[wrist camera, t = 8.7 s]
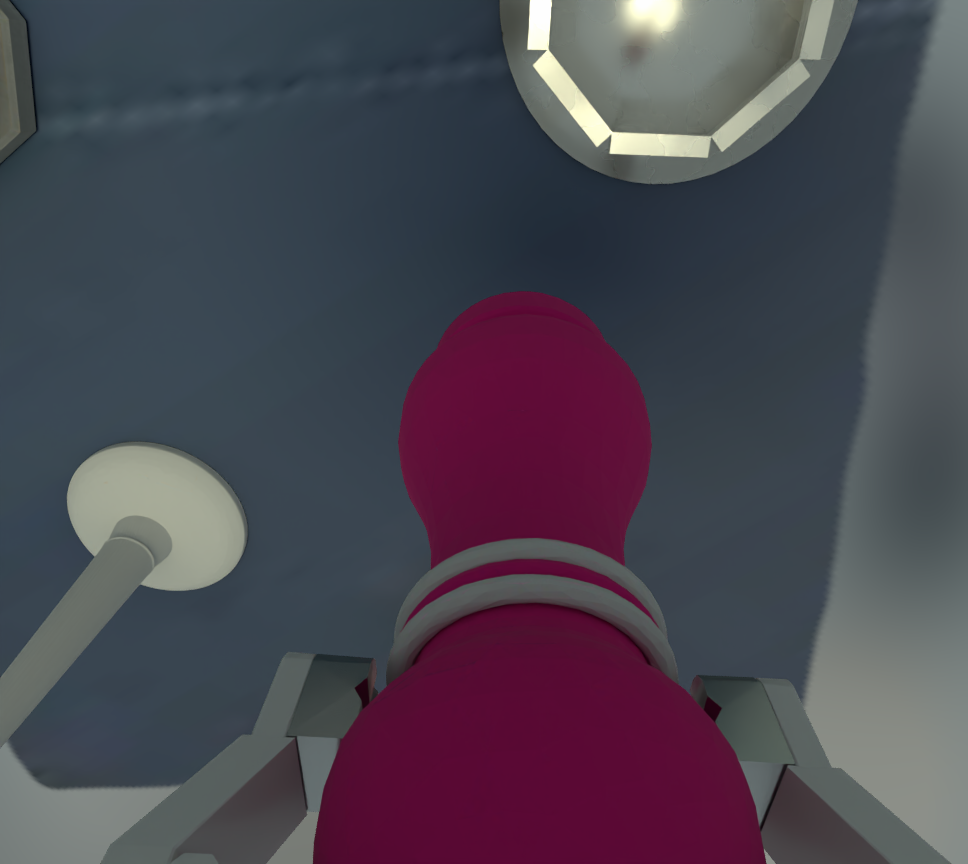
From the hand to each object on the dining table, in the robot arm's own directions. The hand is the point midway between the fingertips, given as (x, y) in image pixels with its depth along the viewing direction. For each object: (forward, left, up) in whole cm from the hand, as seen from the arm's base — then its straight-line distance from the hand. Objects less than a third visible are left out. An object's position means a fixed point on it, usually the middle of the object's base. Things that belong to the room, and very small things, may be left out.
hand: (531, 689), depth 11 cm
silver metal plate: (-13, +7, -31) cm, 34 cm away
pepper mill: (0, 0, -14) cm, 14 cm away
